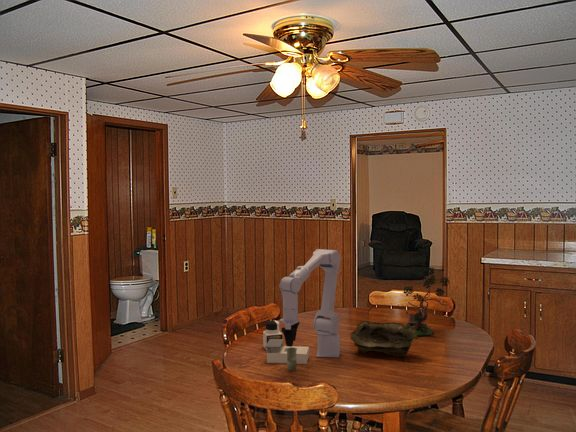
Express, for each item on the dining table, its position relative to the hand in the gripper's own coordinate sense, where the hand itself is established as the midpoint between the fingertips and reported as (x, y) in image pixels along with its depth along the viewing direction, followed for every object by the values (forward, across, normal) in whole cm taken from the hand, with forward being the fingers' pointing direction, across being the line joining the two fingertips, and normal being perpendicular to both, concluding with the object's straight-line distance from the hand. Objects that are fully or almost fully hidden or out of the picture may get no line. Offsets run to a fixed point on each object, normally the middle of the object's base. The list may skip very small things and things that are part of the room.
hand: (291, 343), depth 196 cm
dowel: (+10, 0, 0) cm, 10 cm away
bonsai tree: (+10, -62, +57) cm, 84 cm away
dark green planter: (+10, -22, +36) cm, 43 cm away
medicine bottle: (+10, -26, -12) cm, 30 cm away
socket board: (+10, -11, -3) cm, 15 cm away
